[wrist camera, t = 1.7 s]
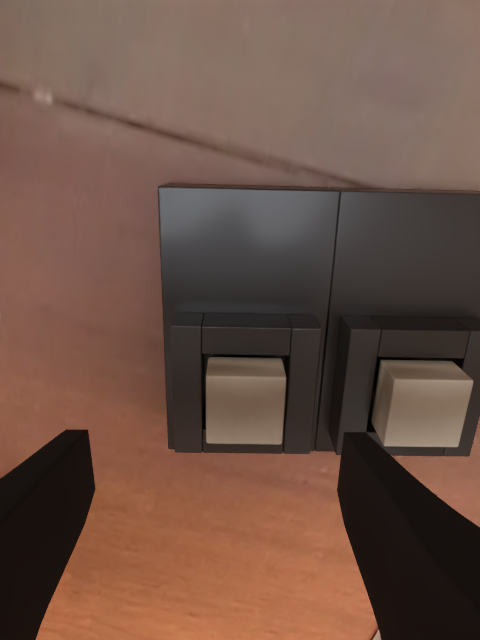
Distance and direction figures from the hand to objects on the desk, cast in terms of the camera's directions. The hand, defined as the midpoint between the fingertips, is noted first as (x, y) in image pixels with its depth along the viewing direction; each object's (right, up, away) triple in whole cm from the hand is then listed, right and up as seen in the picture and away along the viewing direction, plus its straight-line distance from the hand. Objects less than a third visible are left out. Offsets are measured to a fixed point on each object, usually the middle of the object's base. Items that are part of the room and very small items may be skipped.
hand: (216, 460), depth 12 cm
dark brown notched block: (+8, +4, +9) cm, 12 cm away
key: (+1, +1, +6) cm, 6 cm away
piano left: (+1, +4, +8) cm, 10 cm away
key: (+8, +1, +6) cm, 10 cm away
